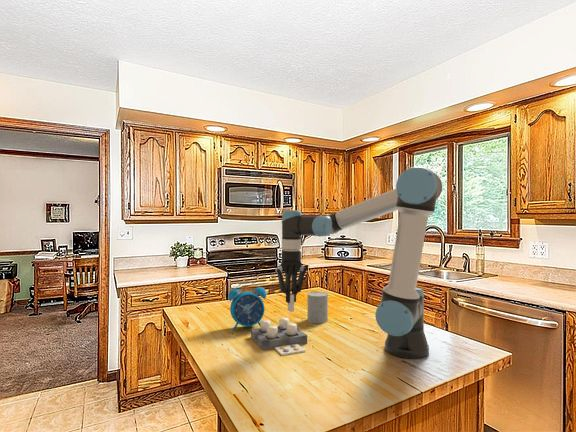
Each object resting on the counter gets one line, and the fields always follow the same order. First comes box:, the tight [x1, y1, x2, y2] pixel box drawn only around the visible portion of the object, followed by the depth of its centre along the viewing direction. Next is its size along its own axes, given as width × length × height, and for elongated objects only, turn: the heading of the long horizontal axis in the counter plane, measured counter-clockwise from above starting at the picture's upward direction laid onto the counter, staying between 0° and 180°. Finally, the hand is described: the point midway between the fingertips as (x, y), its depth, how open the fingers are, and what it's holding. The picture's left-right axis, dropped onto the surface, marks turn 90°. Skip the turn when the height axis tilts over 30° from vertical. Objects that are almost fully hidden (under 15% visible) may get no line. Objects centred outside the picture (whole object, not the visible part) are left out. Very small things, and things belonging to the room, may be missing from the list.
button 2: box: [267, 325, 278, 338], centre depth 133 cm, size 4×4×4 cm
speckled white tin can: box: [306, 291, 329, 324], centre depth 164 cm, size 10×10×12 cm
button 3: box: [278, 317, 290, 329], centre depth 144 cm, size 4×4×4 cm
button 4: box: [287, 322, 298, 335], centre depth 136 cm, size 4×4×4 cm
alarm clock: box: [227, 280, 267, 332], centre depth 153 cm, size 17×10×20 cm, turn 104°
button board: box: [250, 325, 308, 351], centre depth 138 cm, size 15×18×3 cm
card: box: [274, 344, 306, 357], centre depth 128 cm, size 7×9×1 cm
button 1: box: [259, 319, 271, 332], centre depth 141 cm, size 4×4×4 cm
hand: (290, 310), depth 136 cm, fingers closed
